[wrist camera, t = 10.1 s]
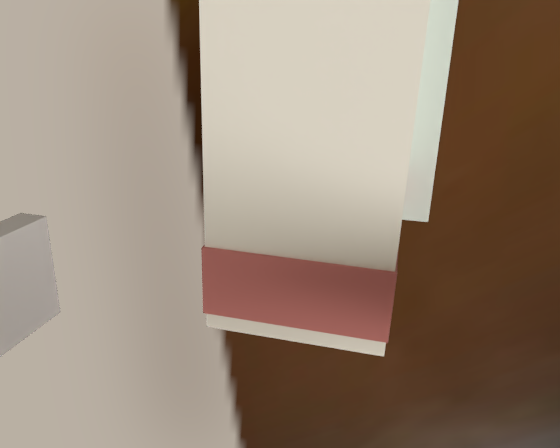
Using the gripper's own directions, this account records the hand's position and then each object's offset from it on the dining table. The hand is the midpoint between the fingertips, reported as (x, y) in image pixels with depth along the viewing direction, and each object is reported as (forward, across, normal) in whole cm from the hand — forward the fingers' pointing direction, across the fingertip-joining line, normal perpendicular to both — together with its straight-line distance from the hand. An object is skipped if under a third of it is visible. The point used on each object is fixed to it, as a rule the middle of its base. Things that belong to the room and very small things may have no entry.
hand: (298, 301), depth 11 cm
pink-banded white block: (+13, +1, -5) cm, 14 cm away
